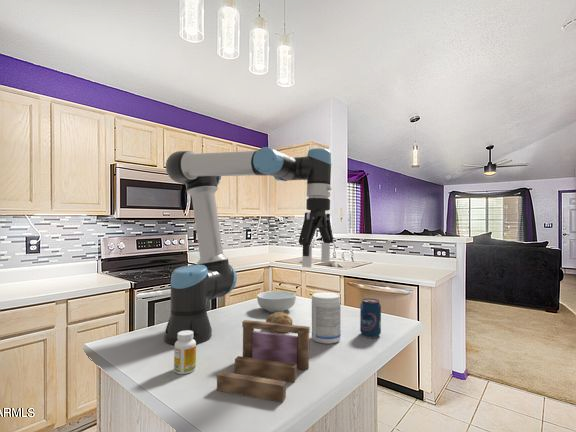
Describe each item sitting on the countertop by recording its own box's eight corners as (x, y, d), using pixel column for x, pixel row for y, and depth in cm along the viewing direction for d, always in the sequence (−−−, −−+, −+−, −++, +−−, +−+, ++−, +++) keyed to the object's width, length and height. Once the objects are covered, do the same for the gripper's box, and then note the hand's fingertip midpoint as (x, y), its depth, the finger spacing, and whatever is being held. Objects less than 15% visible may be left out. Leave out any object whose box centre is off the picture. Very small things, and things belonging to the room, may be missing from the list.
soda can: (357, 336, 112) (358, 301, 112) (363, 330, 118) (363, 297, 118) (378, 340, 109) (378, 303, 109) (382, 333, 115) (382, 299, 115)
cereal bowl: (279, 303, 155) (280, 288, 155) (303, 311, 142) (303, 295, 143) (249, 309, 144) (249, 293, 145) (272, 318, 132) (272, 300, 132)
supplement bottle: (197, 365, 88) (198, 329, 88) (192, 374, 83) (193, 336, 83) (177, 365, 88) (178, 329, 88) (171, 374, 82) (171, 336, 83)
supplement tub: (346, 341, 107) (346, 296, 108) (324, 346, 102) (324, 299, 102) (327, 332, 115) (327, 290, 116) (305, 337, 110) (306, 293, 110)
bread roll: (263, 340, 117) (260, 323, 114) (271, 320, 126) (268, 304, 123) (290, 343, 114) (288, 325, 111) (296, 323, 124) (294, 306, 120)
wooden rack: (211, 389, 76) (211, 342, 76) (245, 356, 94) (245, 319, 94) (289, 403, 70) (290, 352, 70) (309, 366, 88) (310, 326, 89)
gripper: (311, 194, 92) (309, 270, 91) (343, 200, 113) (342, 261, 113) (288, 195, 95) (286, 267, 95) (323, 200, 117) (322, 259, 117)
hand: (316, 264), depth 104 cm, fingers open, 13 cm apart
